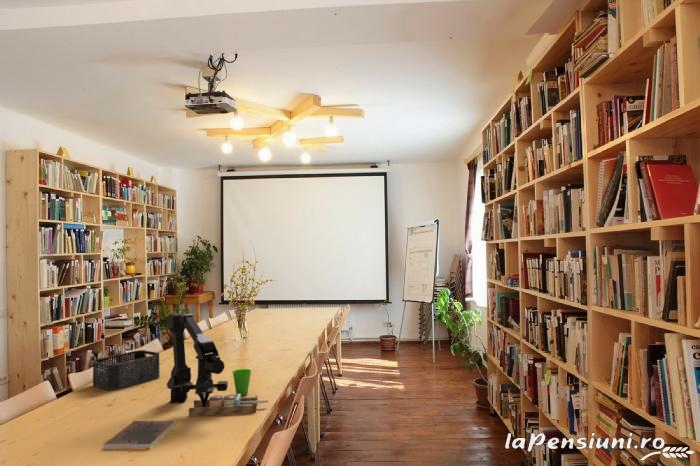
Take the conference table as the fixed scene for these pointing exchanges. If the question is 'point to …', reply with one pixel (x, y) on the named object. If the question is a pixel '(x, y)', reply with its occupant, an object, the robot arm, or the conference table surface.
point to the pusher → (238, 401)
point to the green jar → (229, 400)
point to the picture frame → (139, 434)
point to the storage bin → (125, 370)
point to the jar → (216, 401)
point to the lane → (224, 407)
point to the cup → (241, 381)
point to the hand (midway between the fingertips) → (204, 407)
